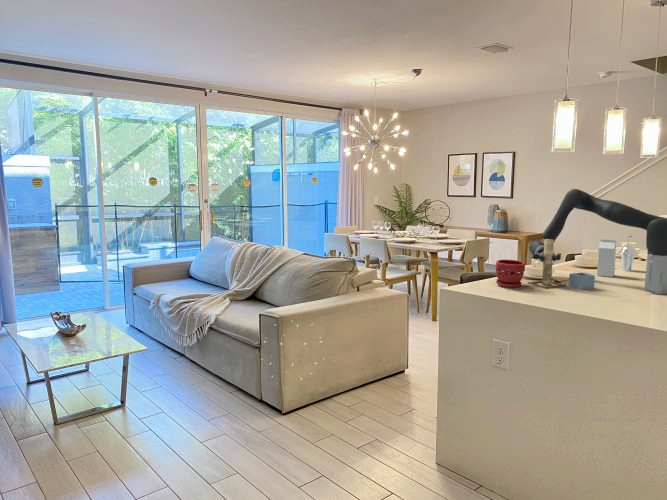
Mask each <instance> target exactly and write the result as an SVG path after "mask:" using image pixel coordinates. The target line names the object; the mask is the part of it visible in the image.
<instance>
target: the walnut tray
mask: <svg viewBox="0 0 667 500" xmlns="http://www.w3.org/2000/svg"><path fill="white" fill-rule="evenodd" d="M552 284H553V285H552ZM527 285H530V286H534V287H538V288H541V289H545V290H547V289H556V288H566V287H567V284H564V283H561V282H556V281H552V280H551V286H543V285H542V280H536V281H527Z"/></svg>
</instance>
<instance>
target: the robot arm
mask: <svg viewBox="0 0 667 500" xmlns="http://www.w3.org/2000/svg"><path fill="white" fill-rule="evenodd" d="M574 209H576V210H583V211H586V212H590V213H593V214H595V215H597V216H599V217H600V218H603V219H605V220H607V221H609V222H612V223H615V224H618V225H622V226H626V227H632V228H639V229H642V230H645V231H646V235H645V236H646V237H645V238H646V239H645V240H646V242H645V246H646V249H647V256H646V264H645V265H646V267H645V268H646V269H645V280H644V292H647V293H652V294H656V295H667V217H664V216H660V215H655V214H654V215H653V214H651V213H647V212H645V211H642V210H639V209H636V208H635V207H632V206H629V205H627V204H624V203H621V202H618V201H613V200H606V199H601V198H598V197H596V196H594V195H591V194H589V193H588V192H585V191H583V190H582V189H581V190H580V189H578V188H572V189H570V190H569V191H567V193H566V194H565V195H564V198H562V201H561V203H560V206H559V208H558V209H557V211H556V213H555V215H554V216H553V218H552V220H551V221H550V223H549V224H548V226H547V227H546V228H545V229H544V231H543V233H542V234H541V237H542V239H543V240H544V239H553V240H554V242H553V244H554V243H555V241H556V240H557V238H558V237H559V236H560V234H561V233H562V232H563V229H564V227H565V224H566V221H567V219H568V216H569V214H570V213H571V212H572V211H573V210H574ZM528 247H529V248H528V250H529V252H530V253H531V254H530V255H531V256H530V258H531V259H533V260H535V261H536V260H538V261H540V262H542V263H543V261H544V243H543V242H542V241H540V240H535V239H534V240H533V241H532V242H531V243H530V244H529V246H528ZM561 259H562V253H556V254H555V253H554V252H553V260H552V262H556V261H560V260H561Z"/></svg>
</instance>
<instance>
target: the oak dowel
mask: <svg viewBox="0 0 667 500" xmlns="http://www.w3.org/2000/svg"><path fill="white" fill-rule="evenodd" d="M543 241H544V243H543V244H544V261H543V262H542V279H541V281H542V283H541V285H542V286H546V287H547V286H552V283H551V281H552V275H553V253H554V243H555V241H554V240H553V239H544V238H543ZM553 242H554V243H553Z"/></svg>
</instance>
